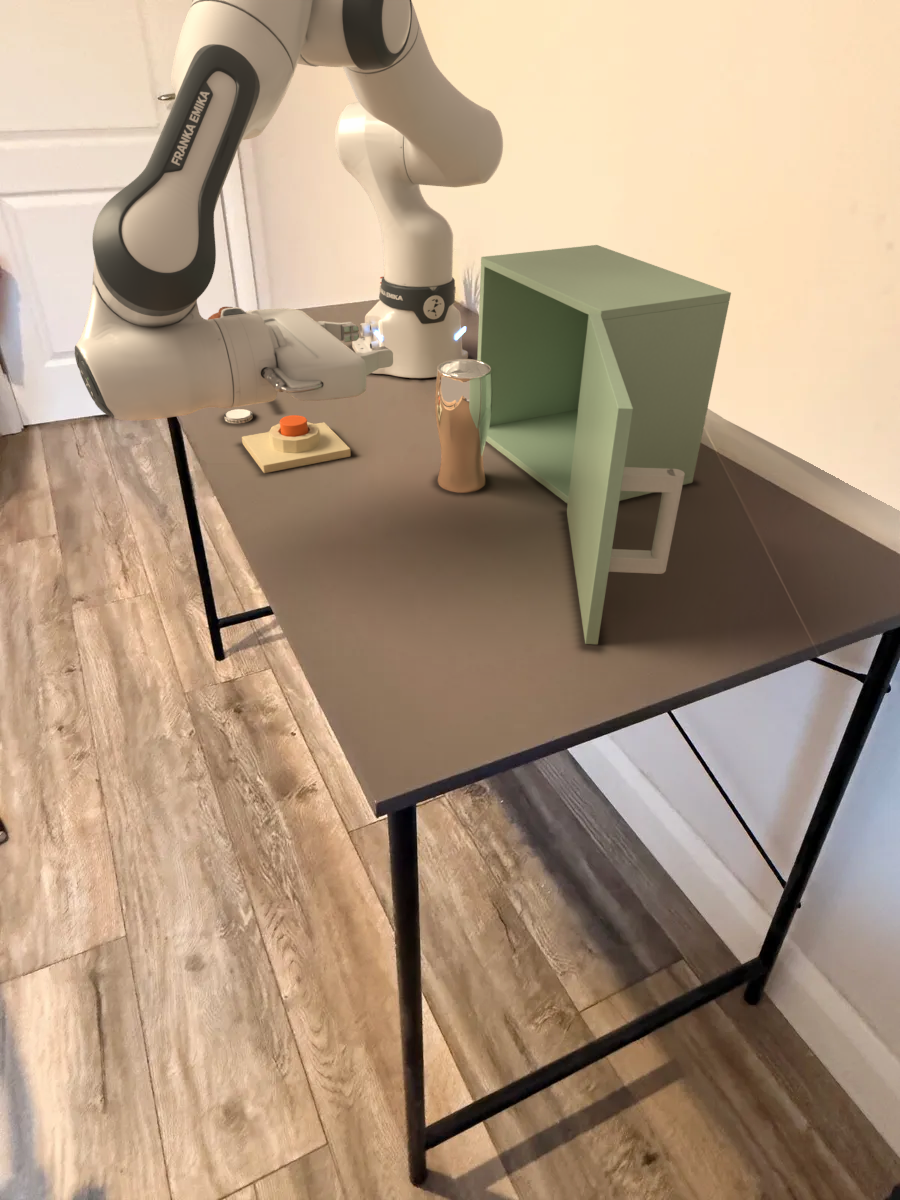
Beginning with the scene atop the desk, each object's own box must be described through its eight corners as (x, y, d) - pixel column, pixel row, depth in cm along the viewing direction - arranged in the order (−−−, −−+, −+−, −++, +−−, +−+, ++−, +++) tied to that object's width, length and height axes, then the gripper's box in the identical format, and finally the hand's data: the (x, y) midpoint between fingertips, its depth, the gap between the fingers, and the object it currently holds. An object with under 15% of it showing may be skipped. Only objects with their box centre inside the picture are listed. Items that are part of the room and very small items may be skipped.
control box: (242, 444, 116) (239, 424, 114) (324, 429, 121) (323, 409, 119) (264, 473, 109) (261, 452, 107) (350, 457, 113) (349, 436, 112)
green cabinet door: (624, 514, 101) (656, 315, 88) (658, 647, 80) (706, 411, 67) (566, 512, 102) (588, 313, 88) (585, 644, 80) (618, 408, 67)
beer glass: (483, 497, 105) (489, 380, 96) (429, 491, 106) (429, 375, 97) (492, 473, 110) (498, 360, 102) (440, 467, 111) (442, 355, 103)
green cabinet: (577, 512, 102) (601, 310, 88) (474, 432, 121) (481, 256, 107) (692, 483, 109) (731, 292, 95) (578, 412, 128) (596, 244, 114)
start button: (277, 429, 114) (276, 417, 113) (302, 425, 115) (301, 413, 114) (285, 439, 111) (284, 427, 110) (311, 435, 113) (310, 422, 112)
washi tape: (247, 410, 126) (247, 406, 125) (256, 420, 123) (255, 416, 122) (221, 415, 124) (220, 411, 124) (228, 425, 121) (228, 421, 121)
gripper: (277, 360, 78) (413, 341, 83) (219, 303, 92) (337, 290, 98) (283, 425, 81) (413, 402, 86) (227, 360, 96) (340, 344, 101)
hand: (372, 342), depth 92 cm, fingers open, 8 cm apart
